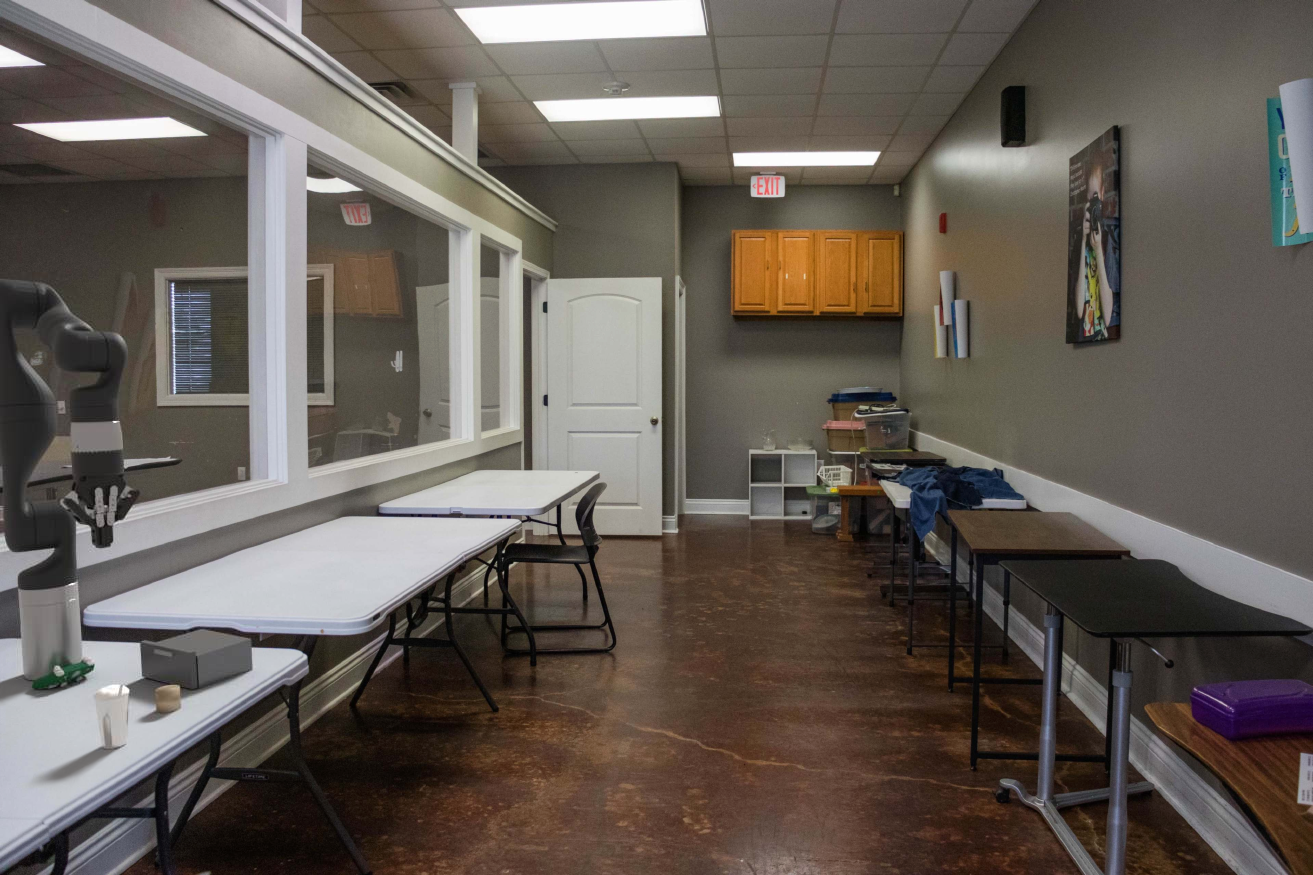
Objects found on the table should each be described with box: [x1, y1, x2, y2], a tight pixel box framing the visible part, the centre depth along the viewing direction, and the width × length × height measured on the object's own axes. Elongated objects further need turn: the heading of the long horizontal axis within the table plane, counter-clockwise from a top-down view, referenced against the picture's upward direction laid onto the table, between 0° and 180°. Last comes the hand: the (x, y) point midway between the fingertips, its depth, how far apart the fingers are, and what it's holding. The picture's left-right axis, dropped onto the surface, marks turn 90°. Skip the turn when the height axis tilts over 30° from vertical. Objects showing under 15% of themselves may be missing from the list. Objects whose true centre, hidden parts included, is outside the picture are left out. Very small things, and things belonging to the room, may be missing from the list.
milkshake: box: [93, 684, 130, 750], centre depth 129 cm, size 5×5×10 cm
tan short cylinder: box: [154, 684, 182, 714], centre depth 143 cm, size 4×4×4 cm
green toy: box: [31, 655, 95, 690], centre depth 156 cm, size 9×4×6 cm
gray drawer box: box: [156, 628, 253, 689], centre depth 160 cm, size 11×15×6 cm
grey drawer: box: [139, 639, 198, 690], centre depth 159 cm, size 11×15×7 cm
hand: (103, 547), depth 146 cm, fingers closed
